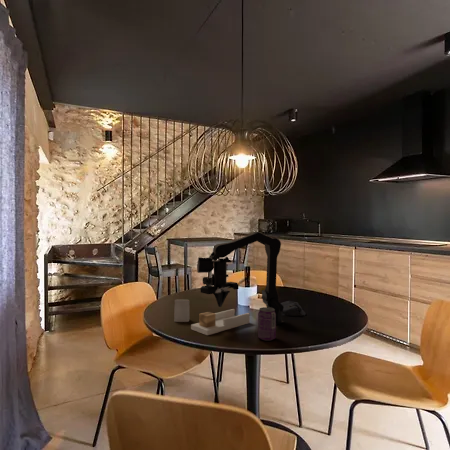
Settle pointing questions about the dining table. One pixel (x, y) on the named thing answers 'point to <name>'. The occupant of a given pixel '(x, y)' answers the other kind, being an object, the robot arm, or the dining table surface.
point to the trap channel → (223, 322)
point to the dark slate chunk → (292, 309)
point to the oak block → (207, 319)
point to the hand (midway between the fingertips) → (220, 306)
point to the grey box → (181, 311)
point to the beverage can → (267, 324)
